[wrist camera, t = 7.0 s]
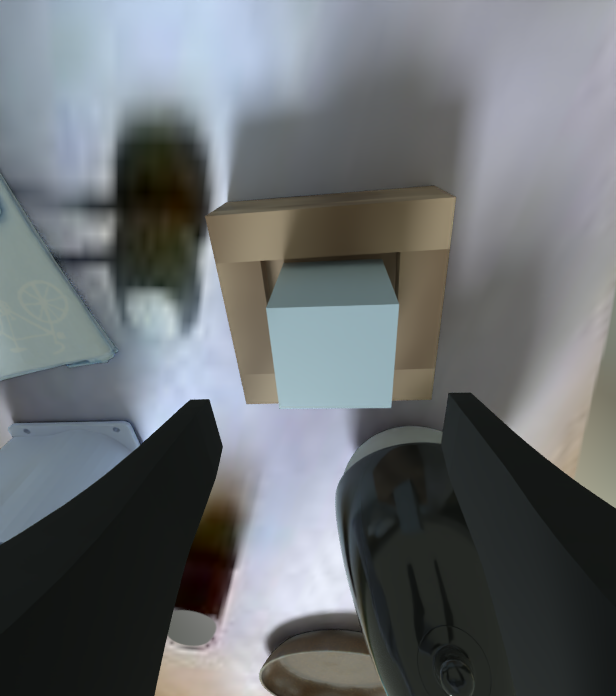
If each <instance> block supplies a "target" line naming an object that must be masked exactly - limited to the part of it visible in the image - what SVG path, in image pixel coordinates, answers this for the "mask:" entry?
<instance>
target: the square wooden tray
mask: <svg viewBox="0 0 616 696" xmlns="http://www.w3.org/2000/svg"><path fill="white" fill-rule="evenodd" d="M455 201H456V197H455V196H453V195H451V194H449V193H447V192H445V191H443V190H442V189H440V188H438V187H436V186H423V187H410V188H398V189H385V190H373V191H360V192H348V193H335V194H323V195H310V196H298V197H285V198H273V199H260V200H248V201H235V202H226V203H225V204H223V205H222V206H220V207H219V208H217V209H216V210H214V211H213V212H211V213H209V214H208V215H206V216H205V218H206V222H207V227H208V231H209V236H210V240H211V245H212V249H213V254H214V259H215V263H216V268H217V272H218V277H219V281H220V286H221V290H222V295H223V299H224V304H225V309H226V313H227V318H228V322H229V327H230V331H231V336H232V340H233V345H234V349H235V354H236V358H237V363H238V368H239V372H240V377H241V381H242V386H243V390H244V395H245V399H246V404H273V403H279V401H278V394H277V386H276V379H275V371H274V364H273V356H272V349H271V342H270V334H269V327H268V319H267V312H266V307H267V305H268V302H269V299H270V297H271V294H272V292H273V289H274V286H275V284H276V281H277V279H278V276H279V273H280V271H281V268H282V266H283V263H292V262H316V261H341V260H365V259H382V260H383V263H384V266H385V268H386V271H387V274H388V276H389V279H390V281H391V284H392V287H393V289H394V292H395V295H396V297H397V300H398V302H399V313H398V326H397V339H396V352H395V365H394V378H393V392H392V401H398V400H431V399H432V391H433V382H434V374H435V366H436V358H437V349H438V341H439V333H440V325H441V317H442V308H443V300H444V292H445V284H446V275H447V267H448V259H449V251H450V243H451V234H452V226H453V218H454V210H455Z"/></svg>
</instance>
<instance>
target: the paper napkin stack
mask: <svg viewBox="0 0 616 696" xmlns="http://www.w3.org/2000/svg"><path fill="white" fill-rule="evenodd" d="M116 352H118V349H116V348H115V346H114V345H113V344H112V342H111V341H110V339H109V338H108V337H107V335H106V334H105V332H104V331H103V329H102V328H101V327H100V325H99V324H98V322H97V321H96V320H95V318H94V317H93V316H92V314H91V313H90V312H89V310H88V309H87V307H86V306H85V304H84V303H83V301H82V300H81V298H80V297H79V295H78V294H77V292H76V291H75V289H74V288H73V286H72V285H71V284H70V282H69V281H68V279H67V278H66V276H65V275H64V273H63V272H62V270H61V269H60V267H59V266H58V264H57V262H56V261H55V259H54V258H53V256H52V255H51V253H50V252H49V250H48V248H47V247H46V245H45V244H44V242H43V240H42V239H41V237H40V236H39V234H38V233H37V231H36V229H35V228H34V226H33V225H32V223H31V221H30V220H29V218H28V217H27V215H26V213H25V212H24V210H23V209H22V207H21V206H20V204H19V202H18V201H17V199H16V198H15V196H14V194H13V193H12V191H11V189H10V188H9V186H8V184H7V183H6V181H5V180H4V178H3V176H2V175H1V173H0V381H1V380H5V379H9V378H13V377H17V376H21V375H25V374H29V373H33V372H37V371H41V370H45V369H49V368H53V367H57V366H61V365H66V366H67V367H68V368H71V367H78V366H83V365H90V364H94V363H107V362H108V360H109V359H111V358H113V357H114V353H116ZM69 364H72V365H69Z"/></svg>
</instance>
